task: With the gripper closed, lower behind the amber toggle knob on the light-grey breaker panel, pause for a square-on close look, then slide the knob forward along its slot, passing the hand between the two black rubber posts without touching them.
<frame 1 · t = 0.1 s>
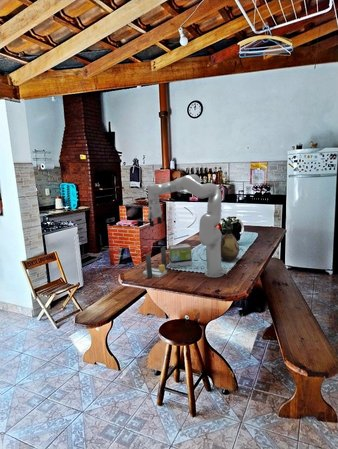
hand: (155, 225, 221), 31 cm above the table, fingers open, 9 cm apart
ceramic jug: (229, 259, 230), on the table
tea box: (180, 265, 227), on the table
toggle amber: (162, 268, 210), point 4 cm above the table, slide at 0.0 cm
panel: (154, 273, 212), on the table
post right: (164, 269, 220), on the table
post left: (150, 277, 206), on the table
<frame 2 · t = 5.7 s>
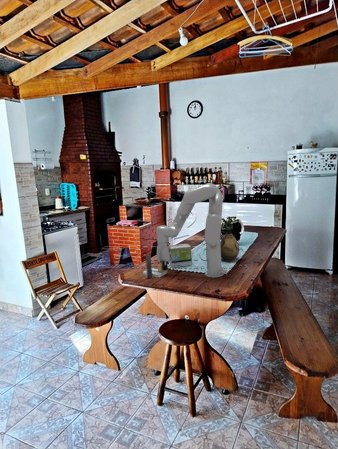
hand: (165, 270, 208), 3 cm above the table, fingers closed
toggle amber: (160, 267, 210), point 4 cm above the table, slide at 1.1 cm, touching gripper
everything else where it was.
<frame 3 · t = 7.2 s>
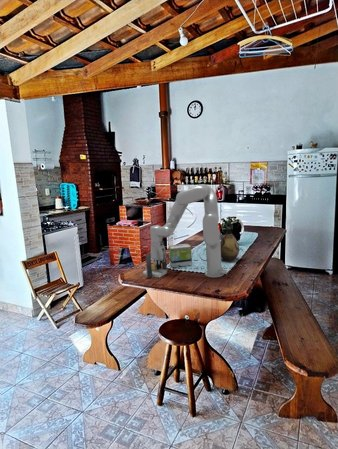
hand: (159, 269, 211), 3 cm above the table, fingers closed
toggle amber: (154, 266, 213), point 4 cm above the table, slide at 6.3 cm, touching gripper
everything else where it was.
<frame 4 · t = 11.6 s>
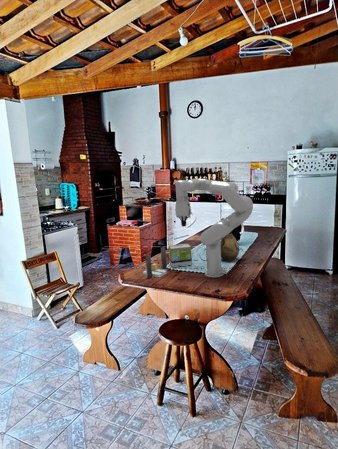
hand: (183, 226, 206), 32 cm above the table, fingers closed
toggle amber: (154, 266, 213), point 4 cm above the table, slide at 6.3 cm
everything else where it was.
at the end: toggle amber slide at 6.3 cm; post right moved 0.0 cm from its start; post left moved 0.0 cm from its start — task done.
